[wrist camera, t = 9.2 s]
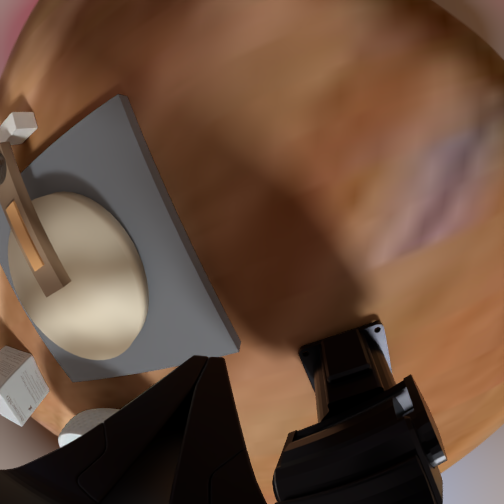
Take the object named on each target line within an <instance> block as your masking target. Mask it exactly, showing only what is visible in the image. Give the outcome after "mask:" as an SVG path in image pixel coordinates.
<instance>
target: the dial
mask: <svg viewBox="0 0 504 504" xmlns="http://www.w3.org/2000/svg"><path fill="white" fill-rule="evenodd" d="M0 204H1V206H2V209H3V211H4V214H5V216H6V219H7V221H8V223H9V226H10V228H11V231H10V235H9V242H8V262H9V269H10V274H11V278H12V281H13V285H14V287H15V290H16V293H17V295H18V297H19V300H20V302H21V303H22V305H23V307H24V309H25V311H26V312H27V314H28V315H29V317H30V318H31V319H32V321H33V322H34V323H35V325H36V326H37V327H38V328H39V329H40V330H41V331H42V332H43V333H44V334H45V335H46V336H47V337H48V338H49V339H50V340H51V341H53V342H54V343H55V344H56V345H58V346H59V347H61V348H63V349H64V350H66V351H68V352H70V353H72V354H74V355H76V356H79V357H82V358H86V359H91V360H106V359H111V358H114V357H117V356H119V355H120V354H122V353H123V352H125V351H126V350H127V349H128V348H129V347H130V345H131V344H132V342H133V341H134V339H135V338H136V337H137V335H138V334H139V332H140V331H141V329H142V327H143V325H144V323H145V321H146V317H147V313H148V306H149V290H148V283H147V277H146V274H145V270H144V266H143V264H142V261H141V258H140V256H139V254H138V252H137V249H136V247H135V245H134V243H133V242H132V240H131V239H130V237H129V235H128V234H127V232H126V231H125V229H124V228H123V227H122V226H121V224H120V223H119V222H118V221H117V220H116V219H115V217H114V216H113V215H112V214H111V213H110V212H109V211H107V210H106V209H105V208H104V207H103V206H101V205H100V204H98V203H97V202H95V201H94V200H92V199H90V198H88V197H86V196H84V195H81V194H77V193H74V192H55V193H52V194H49V195H46V196H42V197H39V198H36V199H34V200H32V201H31V199H30V197H29V194H28V192H27V189H26V187H25V184H24V182H23V179H22V177H21V174H20V171H19V169H18V166H17V163H16V160H15V157H14V154H13V151H12V148H11V145H10V142H9V141H8V142H0Z"/></svg>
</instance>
